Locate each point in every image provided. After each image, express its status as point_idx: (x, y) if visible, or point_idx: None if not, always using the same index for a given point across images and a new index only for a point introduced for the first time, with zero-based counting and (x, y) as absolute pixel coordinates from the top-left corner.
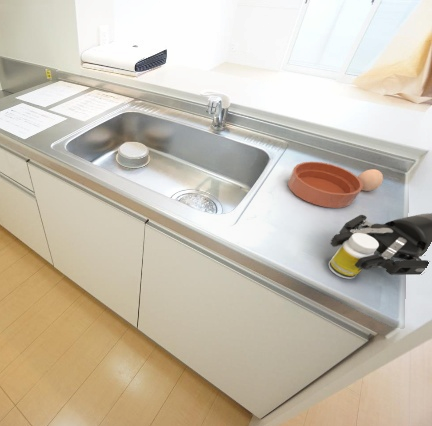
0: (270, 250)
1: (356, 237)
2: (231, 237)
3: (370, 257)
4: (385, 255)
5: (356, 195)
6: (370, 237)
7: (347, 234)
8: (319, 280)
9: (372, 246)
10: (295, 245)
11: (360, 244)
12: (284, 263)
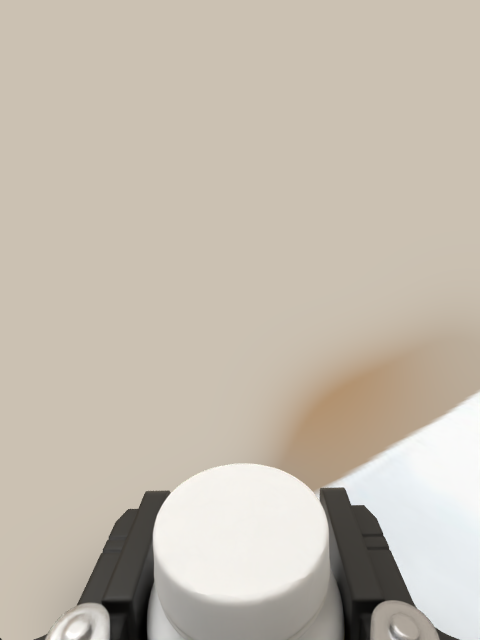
0: (397, 500)
1: (280, 489)
2: (444, 437)
3: (142, 530)
4: (82, 623)
5: None
6: (256, 579)
7: (362, 553)
8: None
9: (175, 509)
10: (456, 615)
11: (220, 469)
12: None
